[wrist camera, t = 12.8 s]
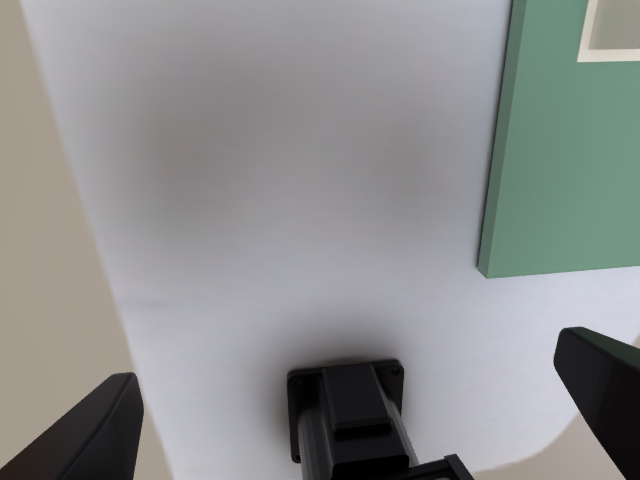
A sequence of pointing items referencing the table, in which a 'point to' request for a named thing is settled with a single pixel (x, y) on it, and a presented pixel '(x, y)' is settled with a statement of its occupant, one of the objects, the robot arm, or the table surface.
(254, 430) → the table surface
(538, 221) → the board
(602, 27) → the block
